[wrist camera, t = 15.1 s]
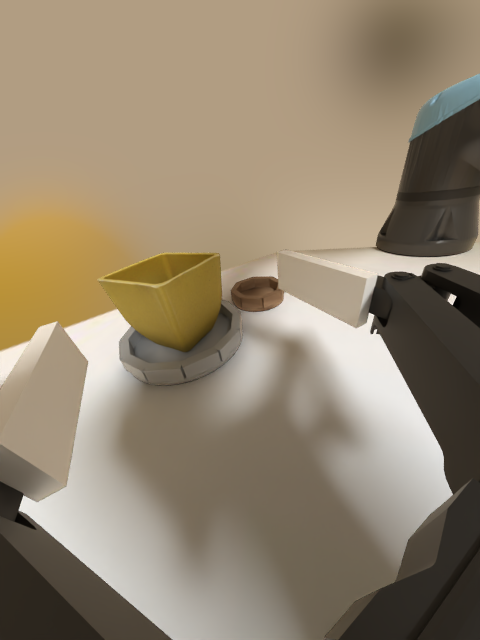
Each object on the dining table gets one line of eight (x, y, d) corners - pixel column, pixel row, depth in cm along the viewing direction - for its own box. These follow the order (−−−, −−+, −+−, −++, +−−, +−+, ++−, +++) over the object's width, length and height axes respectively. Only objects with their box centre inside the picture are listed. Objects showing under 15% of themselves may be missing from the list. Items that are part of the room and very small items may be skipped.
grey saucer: (216, 301, 33) (214, 289, 32) (265, 346, 23) (263, 331, 21) (125, 334, 29) (118, 321, 28) (131, 411, 18) (120, 395, 17)
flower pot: (183, 312, 30) (162, 251, 26) (234, 322, 26) (221, 251, 22) (133, 350, 24) (94, 279, 19) (190, 370, 20) (158, 286, 15)
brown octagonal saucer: (265, 284, 36) (264, 273, 35) (294, 299, 31) (294, 286, 29) (226, 298, 34) (224, 286, 33) (249, 317, 28) (248, 304, 27)
